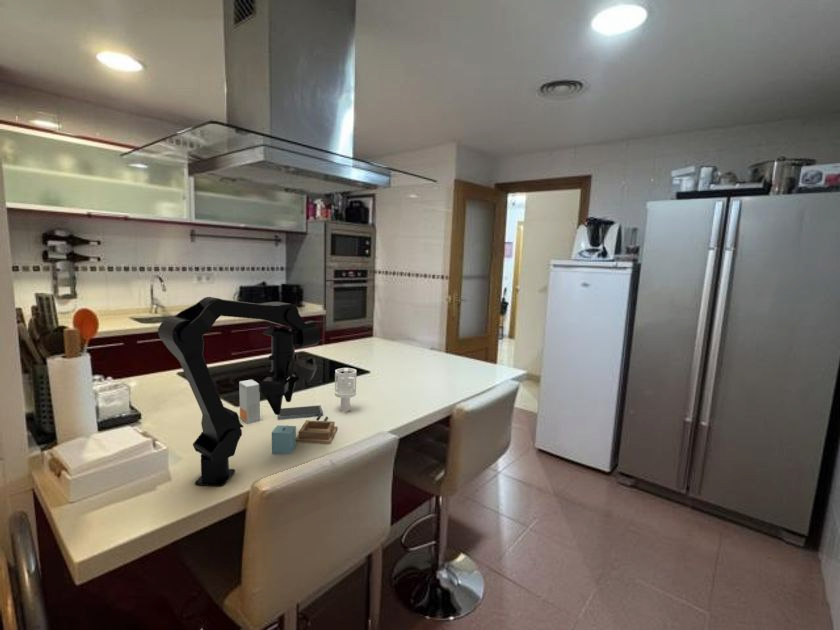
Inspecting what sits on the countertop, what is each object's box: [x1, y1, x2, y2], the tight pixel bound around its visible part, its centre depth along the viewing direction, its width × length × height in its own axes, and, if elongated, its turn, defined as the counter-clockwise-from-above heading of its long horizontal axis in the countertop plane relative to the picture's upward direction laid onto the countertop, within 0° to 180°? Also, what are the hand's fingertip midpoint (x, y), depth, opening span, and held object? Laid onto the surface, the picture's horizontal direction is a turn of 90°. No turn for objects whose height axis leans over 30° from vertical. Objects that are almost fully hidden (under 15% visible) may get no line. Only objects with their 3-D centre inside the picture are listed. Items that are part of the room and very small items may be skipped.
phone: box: [277, 405, 324, 421], centre depth 135 cm, size 7×14×1 cm, turn 110°
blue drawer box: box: [271, 425, 297, 455], centre depth 110 cm, size 4×5×6 cm
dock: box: [296, 420, 338, 445], centre depth 119 cm, size 10×10×3 cm
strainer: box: [334, 367, 357, 413], centre depth 139 cm, size 7×7×15 cm
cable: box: [316, 410, 329, 421], centre depth 131 cm, size 11×3×1 cm, turn 0°
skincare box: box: [238, 379, 261, 424], centre depth 128 cm, size 6×4×12 cm
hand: (283, 408), depth 109 cm, fingers open, 9 cm apart
